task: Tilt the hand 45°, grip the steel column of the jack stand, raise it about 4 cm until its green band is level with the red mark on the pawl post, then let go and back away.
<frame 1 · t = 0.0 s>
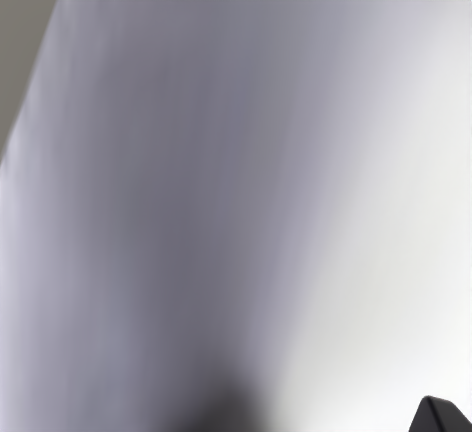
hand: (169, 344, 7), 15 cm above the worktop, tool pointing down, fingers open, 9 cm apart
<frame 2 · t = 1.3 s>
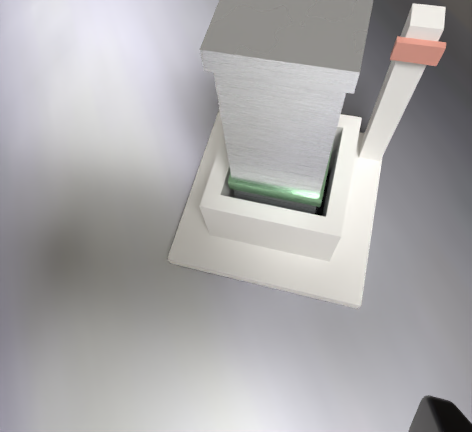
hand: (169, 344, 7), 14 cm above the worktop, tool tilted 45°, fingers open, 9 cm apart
column: (285, 134, 17), point 7 cm above the worktop, slide at 0.0 cm
stand: (280, 201, 23), on the worktop
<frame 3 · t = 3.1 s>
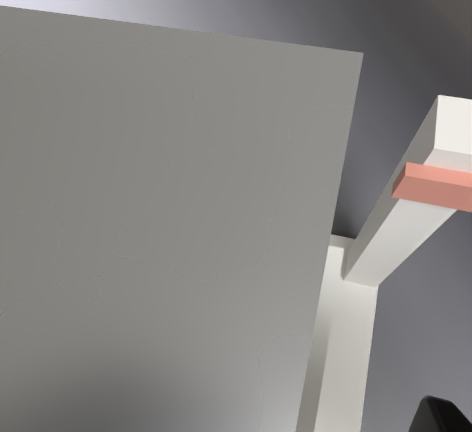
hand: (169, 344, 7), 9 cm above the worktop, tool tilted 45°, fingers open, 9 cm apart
column: (198, 317, 9), point 7 cm above the worktop, slide at 0.0 cm
stand: (226, 345, 15), on the worktop
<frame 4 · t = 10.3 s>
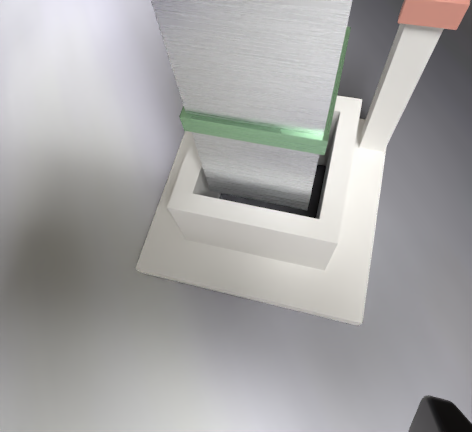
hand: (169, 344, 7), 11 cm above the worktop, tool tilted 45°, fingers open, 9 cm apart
column: (267, 35, 11), point 10 cm above the worktop, slide at 3.7 cm
stand: (268, 198, 20), on the worktop
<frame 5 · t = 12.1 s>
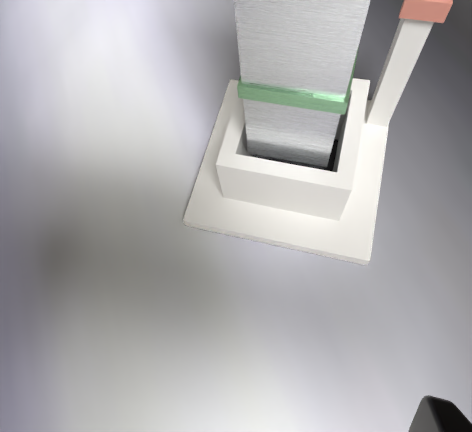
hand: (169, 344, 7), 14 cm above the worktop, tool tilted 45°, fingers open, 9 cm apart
column: (304, 25, 15), point 10 cm above the worktop, slide at 3.7 cm
stand: (290, 166, 24), on the worktop
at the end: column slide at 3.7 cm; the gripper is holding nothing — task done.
